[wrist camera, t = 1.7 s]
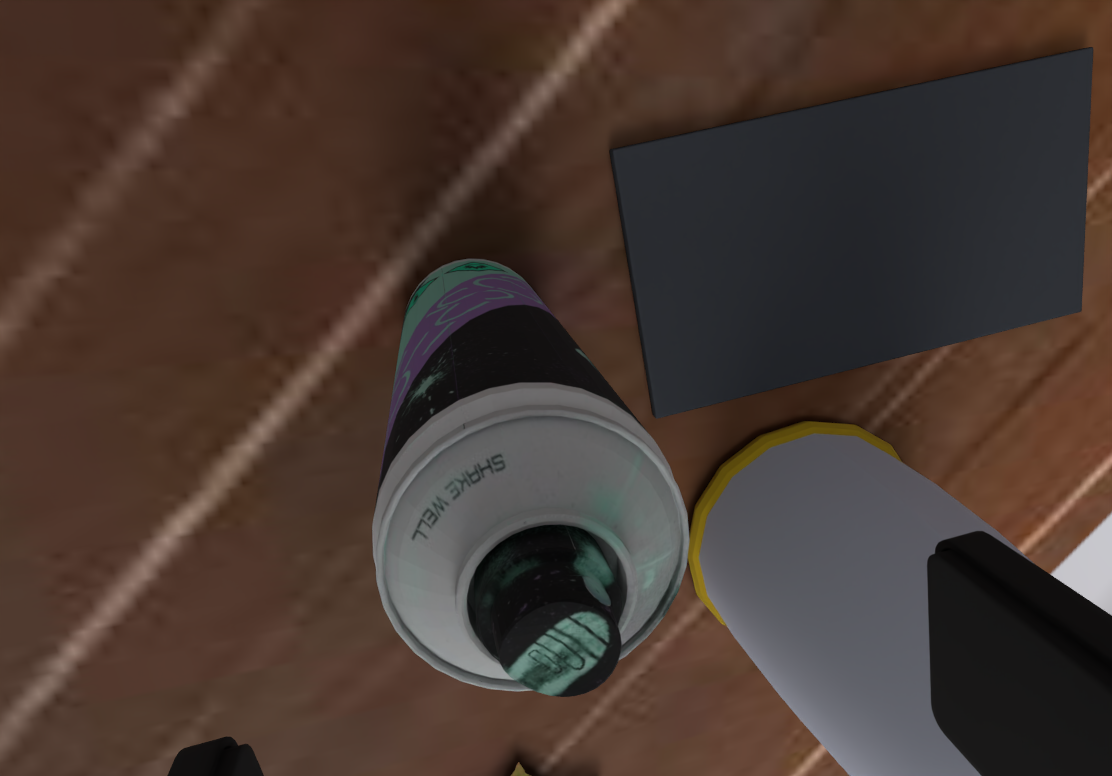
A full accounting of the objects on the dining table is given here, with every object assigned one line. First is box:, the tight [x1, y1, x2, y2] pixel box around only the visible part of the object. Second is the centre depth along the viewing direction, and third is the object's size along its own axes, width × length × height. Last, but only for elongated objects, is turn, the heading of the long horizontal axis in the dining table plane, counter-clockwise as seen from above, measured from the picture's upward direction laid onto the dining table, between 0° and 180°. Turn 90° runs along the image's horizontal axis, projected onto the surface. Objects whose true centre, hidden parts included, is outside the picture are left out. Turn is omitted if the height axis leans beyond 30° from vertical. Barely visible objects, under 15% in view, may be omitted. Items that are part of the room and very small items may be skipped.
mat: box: [610, 47, 1093, 418], centre depth 30 cm, size 11×20×1 cm, turn 101°
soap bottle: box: [688, 421, 1033, 776], centre depth 22 cm, size 11×12×26 cm
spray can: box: [372, 259, 690, 697], centre depth 19 cm, size 6×6×20 cm
